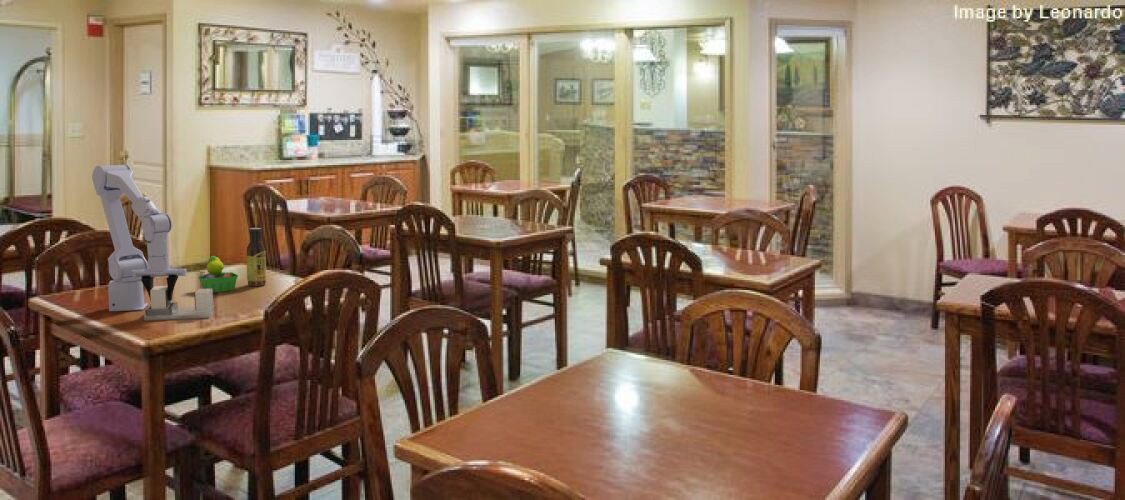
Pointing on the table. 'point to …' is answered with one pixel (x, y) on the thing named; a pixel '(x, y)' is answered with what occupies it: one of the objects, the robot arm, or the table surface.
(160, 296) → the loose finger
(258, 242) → the sauce bottle
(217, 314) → the table surface
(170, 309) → the grey boxy piece
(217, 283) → the fruit basket
